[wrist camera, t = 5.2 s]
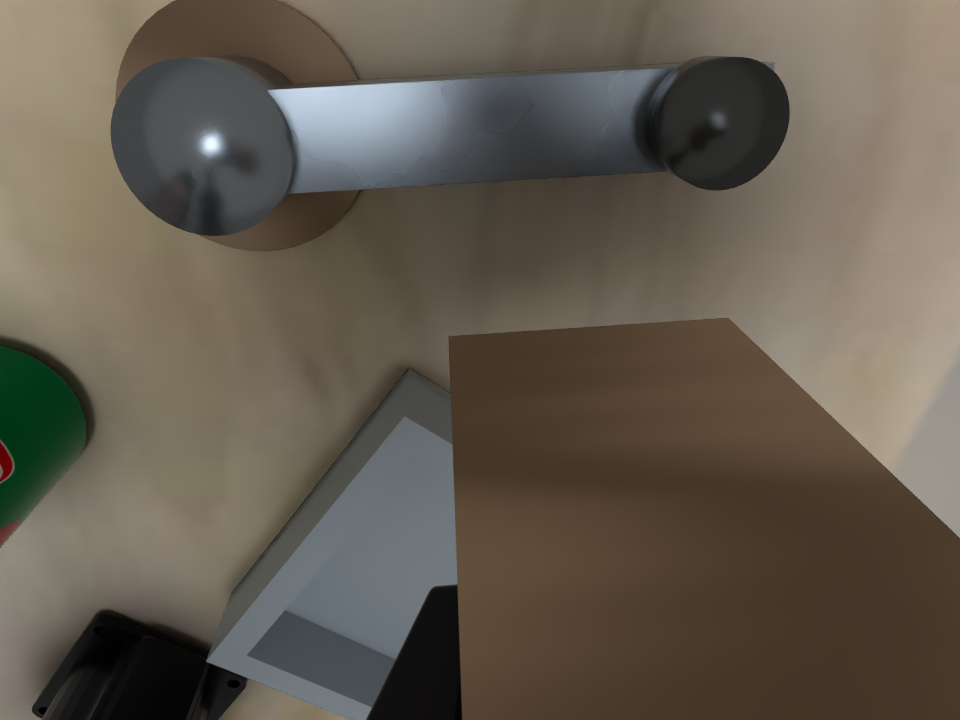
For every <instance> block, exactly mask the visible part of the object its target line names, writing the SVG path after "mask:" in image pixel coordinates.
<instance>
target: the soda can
mask: <svg viewBox="0 0 960 720" xmlns="http://www.w3.org/2000/svg"><path fill="white" fill-rule="evenodd" d="M86 434H87V427H86V419H85V416H84V413H83V409H82V407H81V405H80V403H79V401H78V399H77V397H76V395H75V393H74V392H73V390H72V389H71V388H70V386H69V385H68V384H67V383H66V381H65V380H64V379H63V378H62V377H61V376H60V375H59V374H58V373H56V372H55V371H54V370H53V369H52V368H50V367H49V366H47V365H46V364H44V363H43V362H41V361H40V360H38V359H36V358H34V357H32V356H30V355H28V354H26V353H23V352H20V351H17V350H15V349H12V348H8V347H4V346H0V548H1V547H2V545H3V544H4V543H5V542H6V541H7V540H8V538H9V537H10V536H11V535H12V534H13V533H14V532H15V530H16V529H17V528H18V527H19V526H20V525H21V523H22V522H23V521H24V520H25V519H26V518H27V517H28V515H29V514H30V513H31V512H32V511H33V510H34V509H35V507H36V506H37V505H38V504H39V503H40V502H41V500H42V499H43V498H44V497H45V496H46V495H47V494H48V492H49V491H50V490H51V489H52V488H53V487H54V485H55V484H56V483H57V482H58V481H59V480H60V479H61V477H62V476H63V475H64V474H65V473H66V472H67V470H68V469H69V468H70V467H71V466H72V465H73V464H74V462H75V461H76V460H77V459H78V458H79V456H80V454H81V452H82V451H83V448H84V445H85V442H86Z"/></svg>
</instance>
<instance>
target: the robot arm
mask: <svg viewBox="0 0 960 720" xmlns="http://www.w3.org/2000/svg"><path fill="white" fill-rule="evenodd" d="M207 657H208V654H206V653H204V652H201V651H199V650H196V649H194V648H191V647H189V646H187V645H184V644H182V643H179V642H177V641H174V640H172V639H169V638H167V637H164V636H162V635H159V634H157V633H155V632H152V631H150V630H147V629H145V628H142V627H140V626H137V625H135V624H132V623H130V622H127V621H125V620H123V619H120V618H118V617H115V616H113V615H110V614H97V615H95V616H94V617H93V618H92V620H91V621H90V623H89V624H88V626H87V627H86V628H85V630H84V631H83V633H82V634H81V636H80V637H79V639H78V640H77V642H76V643H75V645H74V646H73V647H72V649H71V650H70V652H69V653H68V655H67V656H66V658H65V659H64V661H63V662H62V664H61V665H60V666H59V668H58V669H57V671H56V672H55V674H54V675H53V677H52V678H51V680H50V681H49V683H48V684H47V685H46V687H45V688H44V690H43V691H42V693H41V694H40V696H39V697H38V699H37V700H36V702H35V704H34V705H33V707H32V712H33V713H34V714H35V715H36V716H38V717H40V718H42V719H41V720H218V719H219V717H220V716H221V715H222V714H223V713H224V712H225V711H226V709H227V708H228V707H229V706H230V705H231V704H232V702H233V701H234V700H235V699H236V698H237V697H238V696H239V694H240V693H241V692H242V691H243V690H244V689H245V687H246V684H247V681H248V678H246V677H243V676H241V675H238V674H236V673H234V672H231V671H229V670H226V669H224V668H221V667H219V666H216V665H214V664H211V663H209V662H206V660H207ZM366 720H462V698H461V670H460V641H459V613H458V585H457V584H456V585H443V586H435V587H433V588H432V589H431V590H430V591H429V593H428V595H427V597H426V599H425V601H424V603H423V605H422V607H421V609H420V611H419V613H418V615H417V617H416V619H415V621H414V623H413V625H412V627H411V629H410V631H409V633H408V635H407V637H406V639H405V641H404V643H403V645H402V647H401V649H400V652H399V654H398V656H397V658H396V660H395V662H394V664H393V666H392V668H391V670H390V672H389V674H388V676H387V678H386V680H385V682H384V684H383V686H382V688H381V690H380V692H379V694H378V696H377V698H376V700H375V702H374V704H373V706H372V708H371V710H370V712H369V715H368V717H367V719H366Z"/></svg>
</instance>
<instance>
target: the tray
mask: <svg viewBox="0 0 960 720" xmlns="http://www.w3.org/2000/svg"><path fill="white" fill-rule="evenodd" d="M456 584H457V557H456V529H455V501H454V473H453V445H452V417H451V394H450V393H449V392H447V391H446V390H444V389H442V388H441V387H439V386H438V385H436V384H434V383H433V382H431V381H429V380H428V379H426V378H425V377H423V376H421V375H420V374H418V373H417V372H415V371H413V370H412V369H410V368H408V369H407V371H406V372H405V373H404V374H403V376H402V377H401V378H400V380H399V381H398V382H397V383H396V385H395V386H394V387H393V388H392V390H391V391H390V392H389V394H388V395H387V396H386V397H385V399H384V400H383V401H382V402H381V404H380V405H379V406H378V408H377V409H376V410H375V411H374V413H373V414H372V415H371V416H370V418H369V419H368V420H367V422H366V423H365V424H364V425H363V427H362V428H361V429H360V430H359V432H358V433H357V434H356V436H355V437H354V438H353V439H352V441H351V442H350V443H349V444H348V446H347V447H346V448H345V450H344V451H343V452H342V453H341V455H340V456H339V457H338V458H337V460H336V461H335V462H334V464H333V465H332V466H331V467H330V469H329V470H328V471H327V472H326V474H325V475H324V476H323V478H322V479H321V480H320V481H319V483H318V484H317V485H316V486H315V488H314V489H313V490H312V492H311V493H310V494H309V495H308V497H307V498H306V499H305V500H304V502H303V503H302V504H301V506H300V507H299V508H298V509H297V511H296V512H295V513H294V514H293V516H292V517H291V518H290V520H289V521H288V522H287V523H286V525H285V526H284V527H283V528H282V530H281V531H280V532H279V534H278V535H277V536H276V537H275V539H274V540H273V541H272V542H271V544H270V545H269V546H268V548H267V549H266V550H265V551H264V553H263V554H262V555H261V556H260V558H259V559H258V560H257V562H256V563H255V564H254V565H253V567H252V568H251V569H250V570H249V572H248V573H247V574H246V576H245V577H244V578H243V579H242V581H241V582H240V583H239V584H238V586H237V587H236V588H235V590H234V591H233V592H232V593H231V596H230V598H229V601H228V604H227V606H226V609H225V612H224V614H223V617H222V620H221V622H220V625H219V628H218V630H217V633H216V636H215V638H214V641H213V644H212V646H211V649H210V652H209V654H208V657H207V660H206V662H209V663H211V664H214V665H216V666H219V667H221V668H224V669H226V670H229V671H231V672H234V673H236V674H238V675H241V676H243V677H246V678H248V679H251V680H253V681H256V682H258V683H261V684H263V685H266V686H268V687H271V688H273V689H276V690H278V691H281V692H283V693H286V694H288V695H291V696H293V697H296V698H298V699H301V700H303V701H306V702H308V703H311V704H313V705H316V706H318V707H321V708H323V709H326V710H328V711H331V712H333V713H336V714H338V715H340V716H343V717H345V718H348V719H350V720H366V719H367V717H368V715H369V712H370V710H371V708H372V706H373V704H374V702H375V700H376V698H377V696H378V694H379V692H380V690H381V688H382V686H383V684H384V682H385V680H386V678H387V676H388V674H389V672H390V670H391V668H392V666H393V664H394V662H395V660H396V658H397V656H398V654H399V652H400V649H401V647H402V645H403V643H404V641H405V639H406V637H407V635H408V633H409V631H410V629H411V627H412V625H413V623H414V621H415V619H416V617H417V615H418V613H419V611H420V609H421V607H422V605H423V603H424V601H425V599H426V597H427V595H428V593H429V591H430V590H431V589H432V588H433V587H435V586H443V585H456Z"/></svg>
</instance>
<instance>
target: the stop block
mask: <svg viewBox="0 0 960 720" xmlns="http://www.w3.org/2000/svg"><path fill="white" fill-rule="evenodd" d="M449 360H450V389H451V417H452V445H453V473H454V501H455V529H456V557H457V585H458V613H459V641H460V670H461V698H462V720H960V538H959V537H958V536H957V535H956V534H955V533H954V532H953V531H952V530H951V529H950V528H949V527H948V526H947V525H946V524H944V523H943V522H942V521H941V520H940V519H939V518H938V517H937V516H936V515H935V514H934V513H933V512H932V511H931V510H930V509H929V508H928V507H927V506H925V505H924V504H923V503H922V502H921V501H920V500H919V499H918V498H917V497H916V496H915V495H914V494H913V493H912V492H911V491H910V490H909V489H907V488H906V487H905V486H904V485H903V484H902V483H901V482H900V481H899V480H898V479H897V478H896V477H895V476H894V475H893V474H892V473H891V472H890V471H889V470H888V469H887V468H885V467H884V466H883V465H882V464H881V463H880V462H879V461H878V460H877V459H876V458H875V457H874V456H873V455H872V454H871V453H870V452H869V451H868V450H866V449H865V448H864V447H863V446H862V445H861V444H860V443H859V442H858V441H857V440H856V439H855V438H854V437H853V436H852V435H851V434H850V433H849V432H848V431H846V430H845V429H844V428H843V427H842V426H841V425H840V424H839V423H838V422H837V421H836V420H835V419H834V418H833V417H832V416H831V415H830V414H829V413H828V412H826V411H825V410H824V409H823V408H822V407H821V406H820V405H819V404H818V403H817V402H816V401H815V400H814V399H813V398H812V397H811V396H810V395H809V394H807V393H806V392H805V391H804V390H803V389H802V388H801V387H800V386H799V385H798V384H797V383H796V382H795V381H794V380H793V379H792V378H791V377H790V376H789V375H787V374H786V373H785V372H784V371H783V370H782V369H781V368H780V367H779V366H778V365H777V364H776V363H775V362H774V361H773V360H772V359H771V358H770V357H769V356H767V355H766V354H765V353H764V352H763V351H762V350H761V349H760V348H759V347H758V346H757V345H756V344H755V343H754V342H753V341H752V340H751V339H750V338H749V337H747V336H746V335H745V334H744V333H743V332H742V331H741V330H740V329H739V328H738V327H737V326H736V325H735V324H734V323H733V322H732V321H731V320H730V319H728V318H719V319H704V320H689V321H674V322H659V323H644V324H629V325H614V326H599V327H583V328H568V329H553V330H538V331H523V332H508V333H493V334H478V335H463V336H449Z"/></svg>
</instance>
